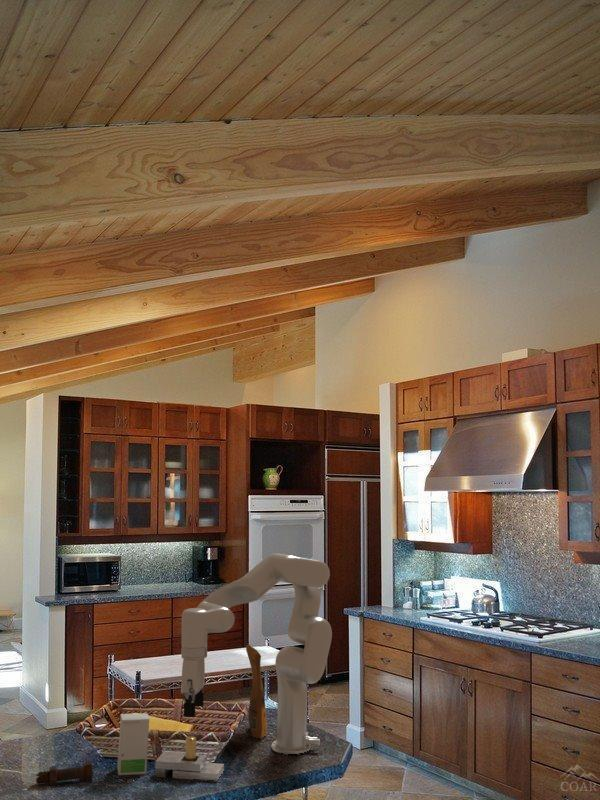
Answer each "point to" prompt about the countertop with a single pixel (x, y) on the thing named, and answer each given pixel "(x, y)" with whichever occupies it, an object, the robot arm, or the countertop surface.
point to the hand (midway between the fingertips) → (193, 711)
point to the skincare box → (133, 744)
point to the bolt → (66, 774)
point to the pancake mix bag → (256, 697)
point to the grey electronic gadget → (187, 767)
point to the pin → (190, 749)
